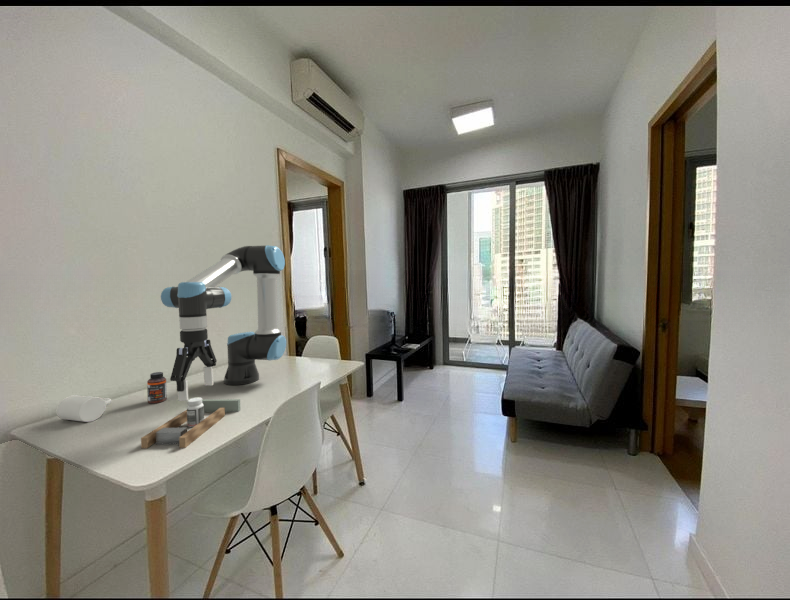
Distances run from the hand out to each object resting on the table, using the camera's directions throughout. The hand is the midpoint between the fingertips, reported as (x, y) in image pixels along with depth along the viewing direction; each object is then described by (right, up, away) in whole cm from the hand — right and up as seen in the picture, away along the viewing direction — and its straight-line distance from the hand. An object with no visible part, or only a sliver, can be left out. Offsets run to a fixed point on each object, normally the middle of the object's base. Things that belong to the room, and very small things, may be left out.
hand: (196, 392), depth 101 cm
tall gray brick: (0, -11, -12) cm, 16 cm away
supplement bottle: (-29, -10, +20) cm, 36 cm away
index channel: (0, -11, -5) cm, 12 cm away
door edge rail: (0, -10, +10) cm, 14 cm away
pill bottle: (0, -11, 0) cm, 11 cm away
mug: (-41, -11, +5) cm, 43 cm away
